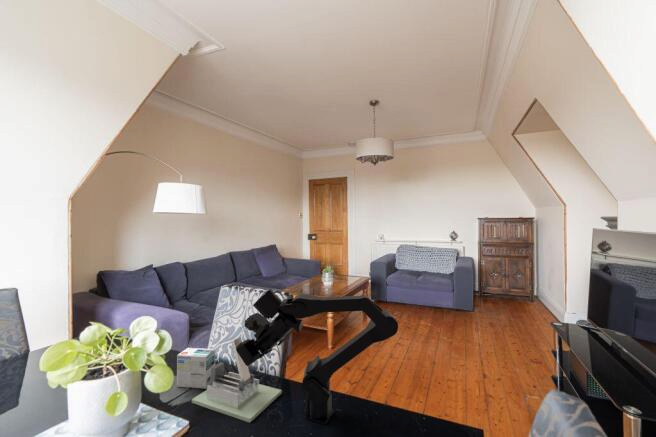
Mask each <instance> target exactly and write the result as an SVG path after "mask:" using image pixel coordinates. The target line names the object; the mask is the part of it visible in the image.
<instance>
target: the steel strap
mask: <svg viewBox="0 0 656 437" xmlns="http://www.w3.org/2000/svg"><path fill="white" fill-rule="evenodd" d="M241 342H243V341H242V337H237V338H234V339H233V340H232V341H231V346H232V351H233V354H234V359H235V362H236V366H237V370H238V374H239V375H240V379H241V381H244V387H245V386H247V385H248V384H250V383H251V382H252V379H251V377H250V374H251V373H250V369H249V366H246V365H245V363H244V362H243V360H242V358H241V357H240V355H239V354H238V352H237V351H236V347H237V346H238V345H239V344H240V343H241Z"/></svg>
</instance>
